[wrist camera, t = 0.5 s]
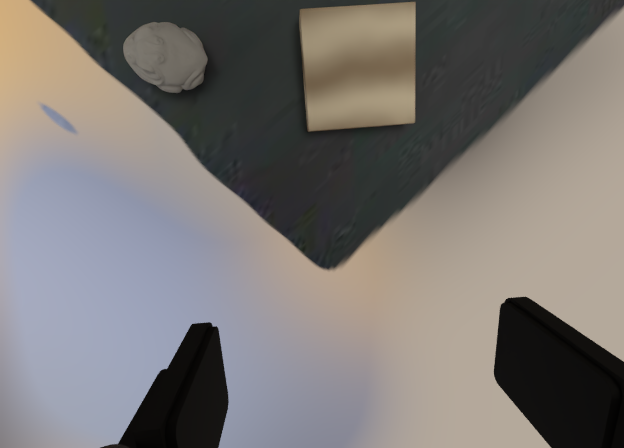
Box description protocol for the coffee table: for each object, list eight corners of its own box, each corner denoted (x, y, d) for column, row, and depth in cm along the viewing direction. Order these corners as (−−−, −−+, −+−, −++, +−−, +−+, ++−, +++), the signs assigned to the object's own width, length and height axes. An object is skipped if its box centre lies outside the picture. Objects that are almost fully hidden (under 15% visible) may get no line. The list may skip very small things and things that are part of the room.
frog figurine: (147, 32, 33) (111, 4, 27) (217, 37, 34) (198, 11, 27) (151, 95, 35) (118, 84, 28) (218, 99, 35) (200, 89, 29)
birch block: (299, 23, 34) (299, 9, 30) (401, 17, 35) (415, 1, 31) (307, 131, 37) (309, 131, 33) (402, 124, 38) (414, 122, 34)
